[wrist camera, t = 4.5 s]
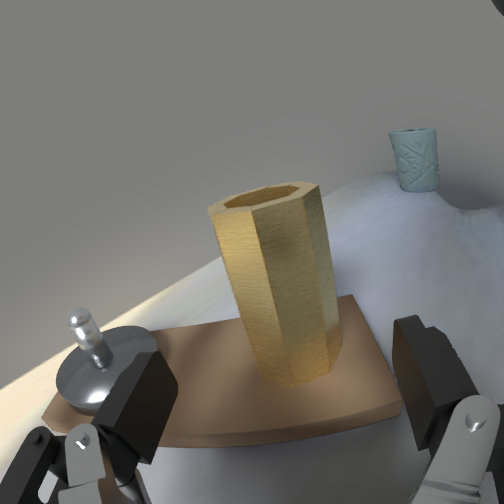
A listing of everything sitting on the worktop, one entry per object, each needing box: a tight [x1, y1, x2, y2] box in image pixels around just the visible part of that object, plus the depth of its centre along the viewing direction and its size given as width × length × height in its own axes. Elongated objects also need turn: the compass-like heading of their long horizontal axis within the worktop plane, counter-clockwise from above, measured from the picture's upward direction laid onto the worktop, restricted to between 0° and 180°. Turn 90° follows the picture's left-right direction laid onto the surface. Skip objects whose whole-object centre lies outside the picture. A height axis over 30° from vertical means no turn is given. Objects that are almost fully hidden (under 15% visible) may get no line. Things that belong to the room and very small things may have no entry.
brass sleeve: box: [207, 181, 342, 387], centre depth 16 cm, size 5×5×10 cm
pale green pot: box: [389, 128, 439, 192], centre depth 49 cm, size 10×10×12 cm
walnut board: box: [41, 294, 403, 448], centre depth 18 cm, size 24×11×5 cm, turn 89°
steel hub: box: [56, 307, 162, 416], centre depth 18 cm, size 9×9×6 cm
